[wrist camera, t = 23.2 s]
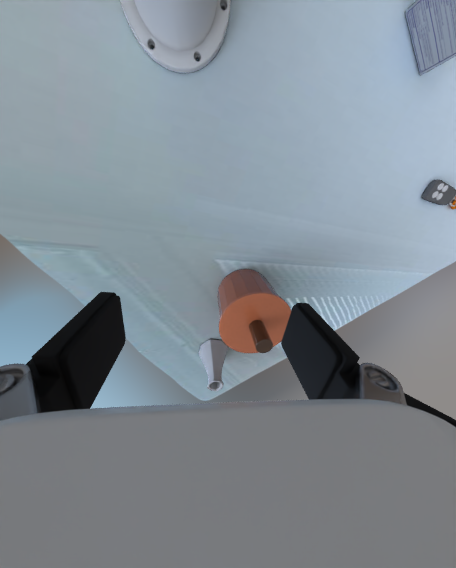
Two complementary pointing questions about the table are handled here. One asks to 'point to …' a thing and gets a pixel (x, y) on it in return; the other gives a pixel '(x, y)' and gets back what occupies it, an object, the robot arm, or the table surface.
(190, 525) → the robot arm
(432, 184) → the key chain
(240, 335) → the lid
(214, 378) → the flask
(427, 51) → the medicine box
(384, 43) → the table surface
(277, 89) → the table surface
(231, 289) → the canister
